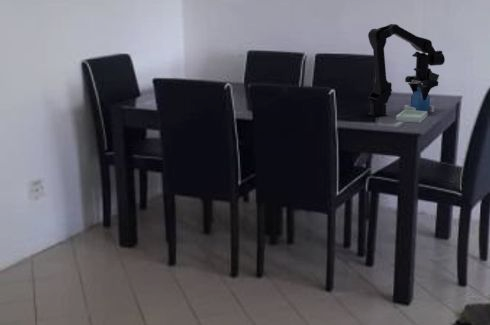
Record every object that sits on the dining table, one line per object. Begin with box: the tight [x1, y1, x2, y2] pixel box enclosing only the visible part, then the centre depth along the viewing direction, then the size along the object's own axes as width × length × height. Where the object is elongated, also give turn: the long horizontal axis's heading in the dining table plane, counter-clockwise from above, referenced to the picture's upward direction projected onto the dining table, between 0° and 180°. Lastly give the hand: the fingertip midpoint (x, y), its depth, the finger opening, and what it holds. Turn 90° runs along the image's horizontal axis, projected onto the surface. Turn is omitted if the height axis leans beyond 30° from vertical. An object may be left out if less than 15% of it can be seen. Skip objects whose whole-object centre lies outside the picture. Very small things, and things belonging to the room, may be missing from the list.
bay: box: [402, 104, 435, 113], centre depth 311 cm, size 11×9×2 cm
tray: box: [395, 110, 429, 124], centre depth 294 cm, size 16×11×2 cm, turn 154°
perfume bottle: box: [410, 83, 431, 111], centre depth 309 cm, size 6×6×12 cm
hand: (420, 99), depth 309 cm, fingers closed on perfume bottle, 6 cm apart
